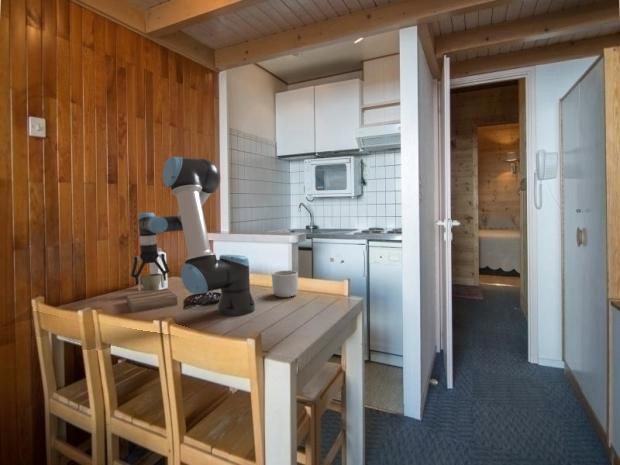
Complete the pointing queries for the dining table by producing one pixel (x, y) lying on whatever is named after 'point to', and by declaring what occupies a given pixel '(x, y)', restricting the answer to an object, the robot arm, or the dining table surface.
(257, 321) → the dining table surface
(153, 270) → the milk
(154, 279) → the olive green bowl
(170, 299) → the stand
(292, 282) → the planter
